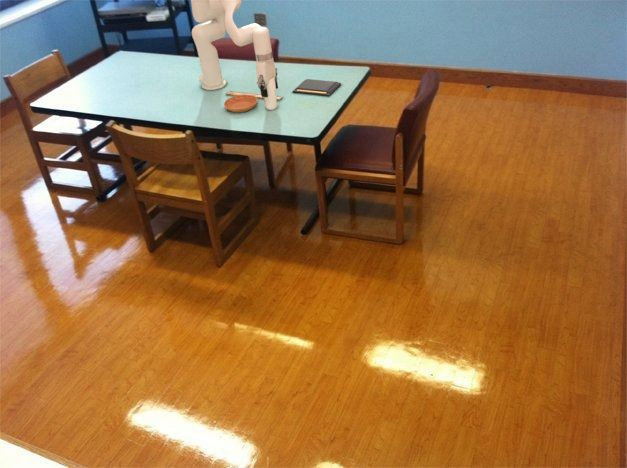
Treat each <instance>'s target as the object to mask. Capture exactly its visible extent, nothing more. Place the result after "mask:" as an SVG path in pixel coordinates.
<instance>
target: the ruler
mask: <svg viewBox="0 0 627 468" xmlns="http://www.w3.org/2000/svg"><path fill="white" fill-rule="evenodd" d="M238 95H253V96H255V97H256V98H257V99H261V100H264V97H262V96H261V93H254V92H253V93H252V92H242V91H236V90H235V91H234V90H229V91H227V92H226V96H231V97H234V96H238ZM276 99H277V102H278V101H279V102H280V101H281V100H282V99H283V96H281V95H276Z"/></svg>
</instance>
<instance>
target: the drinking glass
mask: <svg viewBox="0 0 627 468" xmlns="http://www.w3.org/2000/svg"><path fill="white" fill-rule="evenodd" d="M263 82H265V81H263ZM262 85H263V86H264V84H262ZM266 89H267V93H268V97H264V99H263V100H264V105H265V109H267V110H269V111H272V110H276V109H277V108H278V103H277V102H278V101H277V99H276V96H277V89H276V83H275V77H273V78H272V79H270V80H269V83H267V85H266Z"/></svg>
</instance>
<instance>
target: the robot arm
mask: <svg viewBox="0 0 627 468" xmlns="http://www.w3.org/2000/svg"><path fill="white" fill-rule="evenodd" d="M190 3H191V13H192V16H193V19H194V21H195V22H196V23H198V24H196V25H195V26H193V28H192V29H191V37H192V39H193V42H194V45H195V47H196V50H197V55H198V59H199V65H200V68H201V69H200V70H201V73H202V75H199V76H198V78H197V79H198V81H199V82H202V84H201V87H202V89H204V90H207V91H215V90H220V89H222V88H224V87H225V86H226V85H227V80H226V79H224V78H223V73H222V68H221V64H220V58H219V54H218V49H217V48H216V47H215V46H214V45H213V44H212V42H215V41H217V40H220V39H223V38H224V37H225V36H226V34H227V35H228V36H229V37H230V39H231V41H232V43H234V44H235V45H236V46H238V47H244V46H246V45H247V46H248V45H249V44H252V43H253V49H254V55H255V60H256V62H255V71H256V79H257V81H256V84H257V87H258V88H259V90H260V94H261V96H262V97H268V93H267V89H266V85H267V83H269V80H270V79H272V78H273V77H275V83H276V90H277V89H279V85H278V68H277V67H276V65H275V60H274V56H273V49H272V41H271V36H270V31H269V28H268V27H267V26H262V25H260V24H258V23H257V22H256V23H255V22H254V23H253V22H252V23H249V24H247V25H243V26H242V27H241V26H240V27H239V28H238V26H237V24H236V23H235V21H234V14H235V13H236V12H237V11H238V10H239V9H240V7H241V6H242V3H243V2H242V0H190ZM263 81H265V82H263ZM262 84H264V86H263V85H262Z"/></svg>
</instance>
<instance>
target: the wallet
mask: <svg viewBox="0 0 627 468" xmlns="http://www.w3.org/2000/svg"><path fill="white" fill-rule="evenodd" d="M341 86H342V83H341V82H338V81H334V80H323V79H311V78H306V79H304V80H303V81H301V83H300V84H299V85H298V86H297V87H295V88H294V89H293V90H292V93H293V94H301V95H302V94H303V95H313V96H321V97H330V96H332V94H333V93H334V92H335V91H337V90H338V88H339V87H341Z"/></svg>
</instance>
